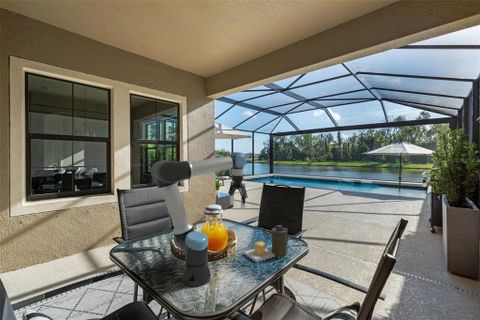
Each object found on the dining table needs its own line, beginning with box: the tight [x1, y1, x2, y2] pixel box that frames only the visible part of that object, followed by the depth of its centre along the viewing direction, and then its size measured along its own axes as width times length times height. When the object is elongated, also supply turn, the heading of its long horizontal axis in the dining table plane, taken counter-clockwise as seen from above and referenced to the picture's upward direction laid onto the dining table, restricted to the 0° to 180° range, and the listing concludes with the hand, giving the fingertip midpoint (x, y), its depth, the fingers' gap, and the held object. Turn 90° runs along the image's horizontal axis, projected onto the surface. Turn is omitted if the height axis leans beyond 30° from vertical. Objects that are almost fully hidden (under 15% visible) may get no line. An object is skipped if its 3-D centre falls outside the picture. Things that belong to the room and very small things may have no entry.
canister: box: [271, 224, 289, 258], centre depth 148 cm, size 11×10×20 cm
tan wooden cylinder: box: [253, 241, 266, 255], centre depth 146 cm, size 7×7×6 cm
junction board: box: [243, 247, 275, 263], centre depth 146 cm, size 16×14×6 cm
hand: (237, 206), depth 149 cm, fingers open, 13 cm apart
